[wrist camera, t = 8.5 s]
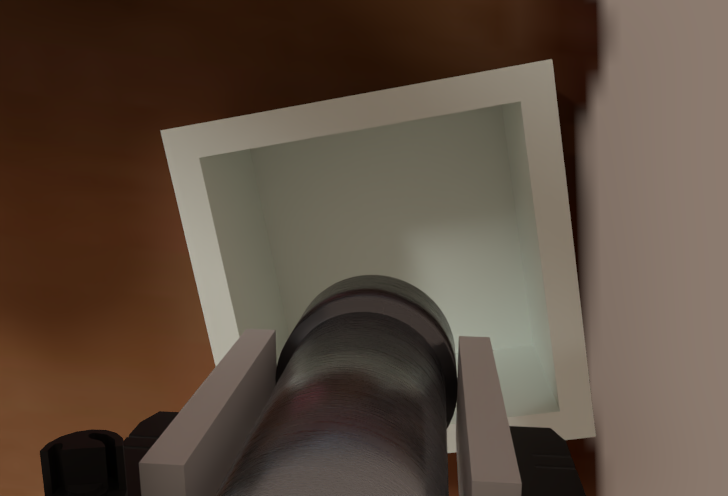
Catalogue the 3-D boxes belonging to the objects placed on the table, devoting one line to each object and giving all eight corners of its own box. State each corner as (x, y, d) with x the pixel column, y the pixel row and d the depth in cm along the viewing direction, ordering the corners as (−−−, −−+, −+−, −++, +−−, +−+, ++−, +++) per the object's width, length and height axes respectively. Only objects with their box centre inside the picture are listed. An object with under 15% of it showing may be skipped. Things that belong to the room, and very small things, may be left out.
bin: (224, 120, 33) (160, 130, 25) (521, 66, 31) (552, 58, 23) (283, 391, 36) (241, 475, 28) (558, 356, 34) (596, 436, 26)
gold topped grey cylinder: (293, 421, 20) (58, 958, 8) (294, 270, 19) (26, 604, 7) (450, 432, 20) (473, 1022, 7) (459, 279, 19) (506, 655, 6)
